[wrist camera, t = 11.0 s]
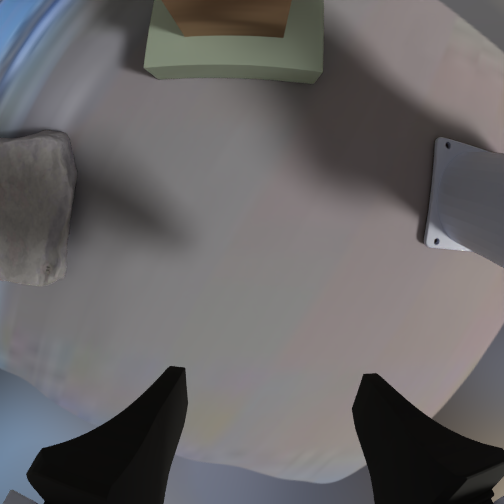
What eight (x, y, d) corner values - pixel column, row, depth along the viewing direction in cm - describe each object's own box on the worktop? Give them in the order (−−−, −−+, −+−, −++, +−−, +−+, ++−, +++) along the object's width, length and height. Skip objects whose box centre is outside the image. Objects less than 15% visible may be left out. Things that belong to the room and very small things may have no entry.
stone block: (89, 125, 20) (-7, 139, 18) (67, 121, 16) (-39, 142, 14) (95, 270, 24) (4, 269, 22) (78, 296, 20) (-21, 290, 18)
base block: (315, -31, 15) (321, -53, 12) (313, 84, 18) (322, 72, 15) (176, -34, 15) (167, -54, 12) (158, 79, 18) (143, 68, 15)
